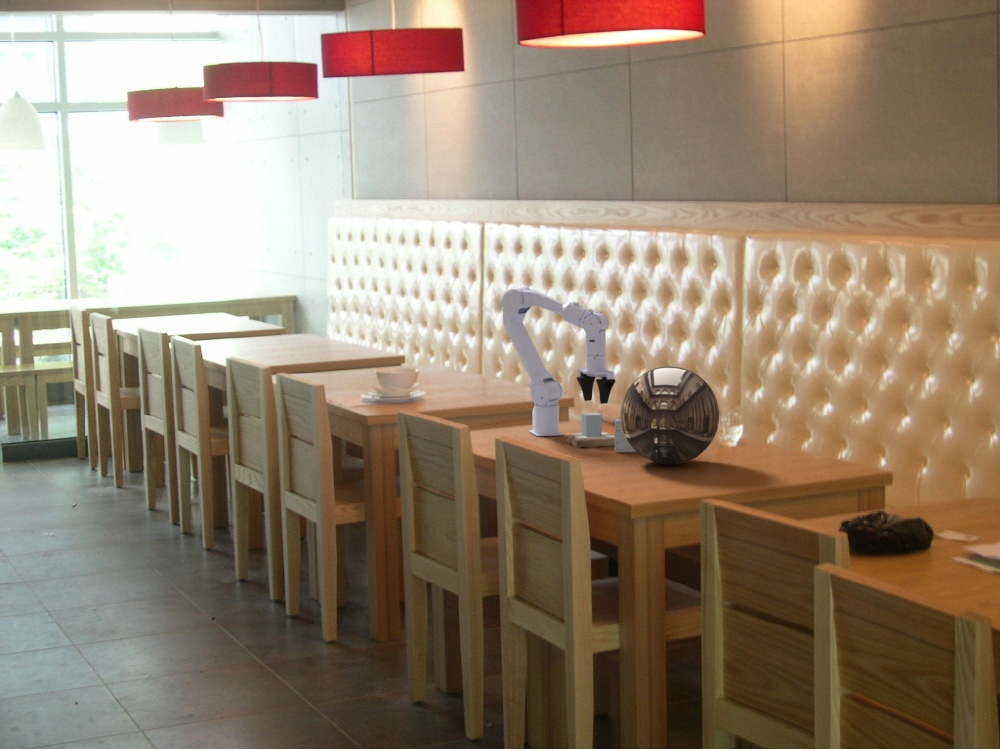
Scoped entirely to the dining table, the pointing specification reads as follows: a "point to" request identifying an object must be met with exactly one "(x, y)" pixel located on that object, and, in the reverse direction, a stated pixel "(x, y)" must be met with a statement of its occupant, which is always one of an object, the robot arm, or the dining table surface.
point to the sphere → (669, 415)
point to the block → (591, 424)
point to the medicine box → (621, 439)
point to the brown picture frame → (591, 440)
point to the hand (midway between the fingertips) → (595, 401)
